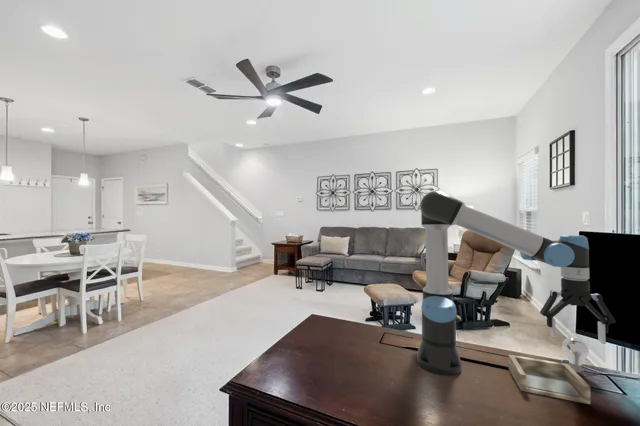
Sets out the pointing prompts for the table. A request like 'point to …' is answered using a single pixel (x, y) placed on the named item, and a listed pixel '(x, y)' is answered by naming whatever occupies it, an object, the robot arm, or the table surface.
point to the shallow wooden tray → (548, 379)
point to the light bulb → (575, 352)
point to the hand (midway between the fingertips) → (576, 339)
